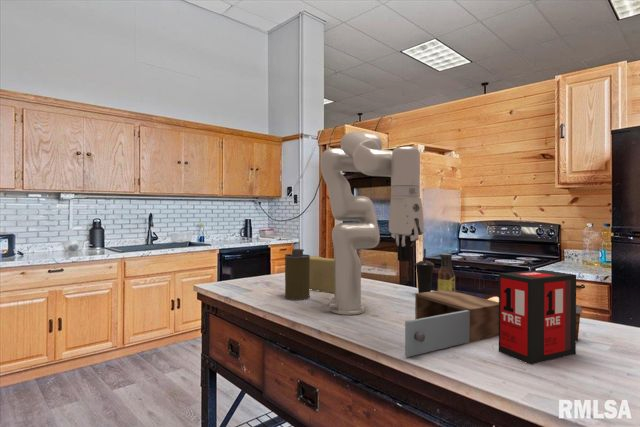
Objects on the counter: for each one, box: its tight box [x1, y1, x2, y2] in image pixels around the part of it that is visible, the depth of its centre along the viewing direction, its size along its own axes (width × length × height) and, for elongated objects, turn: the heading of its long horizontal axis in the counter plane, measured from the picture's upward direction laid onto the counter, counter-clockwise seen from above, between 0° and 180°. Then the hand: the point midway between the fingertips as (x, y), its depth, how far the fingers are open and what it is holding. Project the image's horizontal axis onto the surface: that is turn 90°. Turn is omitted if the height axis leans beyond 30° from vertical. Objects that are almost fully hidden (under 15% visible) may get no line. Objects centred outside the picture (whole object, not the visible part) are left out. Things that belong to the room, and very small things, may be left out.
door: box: [404, 310, 470, 358], centre depth 96 cm, size 3×22×8 cm, turn 119°
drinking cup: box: [415, 248, 435, 293], centre depth 159 cm, size 8×8×20 cm
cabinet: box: [414, 290, 499, 343], centre depth 115 cm, size 14×22×9 cm, turn 27°
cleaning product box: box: [498, 269, 577, 365], centre depth 95 cm, size 16×9×20 cm, turn 114°
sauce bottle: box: [437, 253, 456, 292], centre depth 141 cm, size 7×6×20 cm
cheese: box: [309, 255, 335, 294], centre depth 168 cm, size 22×10×15 cm, turn 47°
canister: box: [284, 248, 311, 301], centre depth 155 cm, size 11×10×20 cm
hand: (404, 260), depth 102 cm, fingers closed
